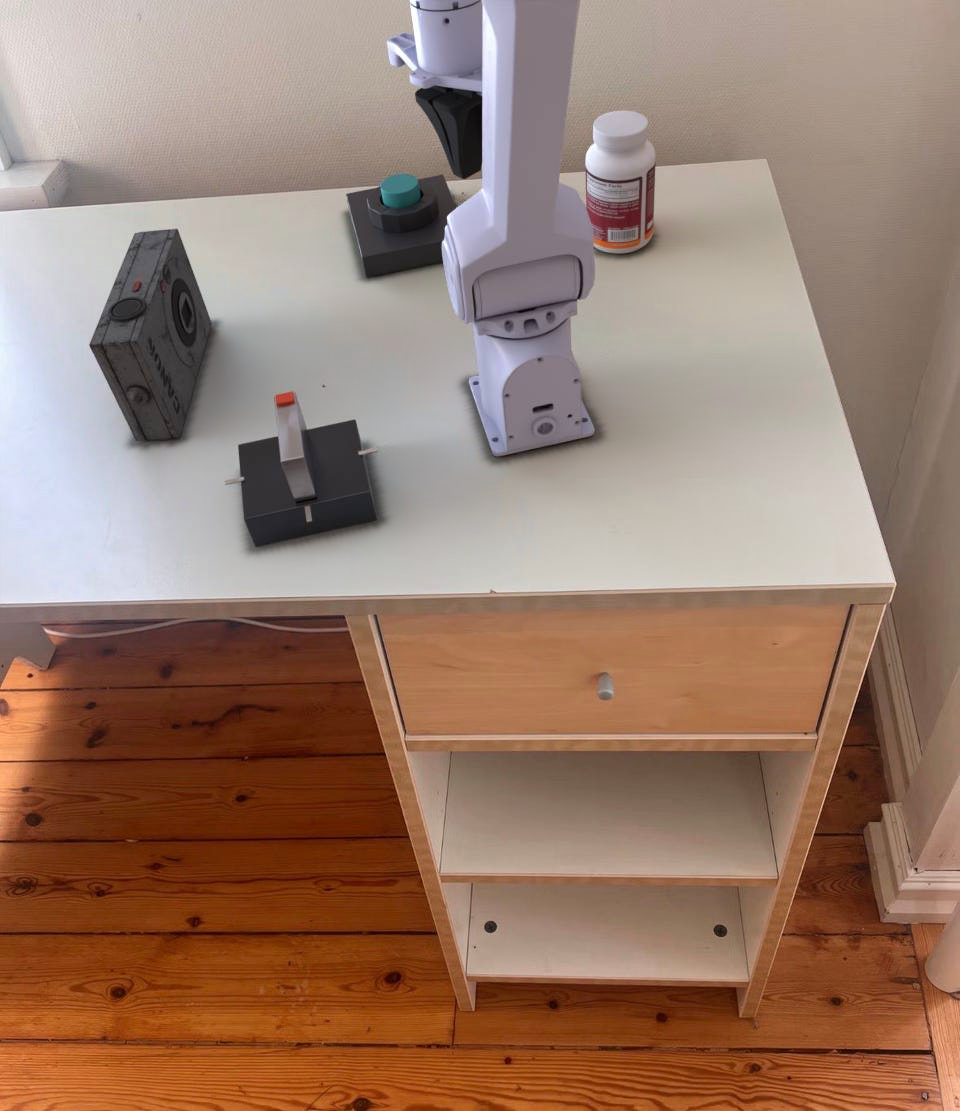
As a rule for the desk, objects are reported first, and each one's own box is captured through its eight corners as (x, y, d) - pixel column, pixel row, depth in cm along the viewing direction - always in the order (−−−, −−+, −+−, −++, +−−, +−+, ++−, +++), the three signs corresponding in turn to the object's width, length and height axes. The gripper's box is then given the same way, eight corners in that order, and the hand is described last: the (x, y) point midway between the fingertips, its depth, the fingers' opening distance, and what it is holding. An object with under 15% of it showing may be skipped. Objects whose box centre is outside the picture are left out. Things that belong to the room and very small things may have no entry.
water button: (423, 206, 91) (421, 188, 90) (386, 213, 91) (383, 196, 90) (417, 187, 94) (414, 170, 92) (380, 194, 93) (377, 177, 92)
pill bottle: (619, 212, 94) (621, 98, 86) (666, 236, 91) (673, 119, 82) (572, 239, 92) (569, 125, 83) (619, 264, 88) (621, 147, 80)
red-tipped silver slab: (317, 497, 68) (303, 453, 65) (294, 502, 68) (279, 458, 65) (308, 432, 73) (294, 388, 69) (287, 437, 73) (272, 393, 69)
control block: (470, 256, 91) (465, 217, 88) (366, 277, 91) (358, 239, 88) (445, 194, 99) (440, 156, 96) (349, 213, 99) (341, 176, 96)
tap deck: (396, 532, 69) (388, 502, 67) (241, 567, 69) (228, 538, 66) (373, 431, 77) (366, 400, 74) (233, 461, 76) (221, 432, 74)
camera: (180, 448, 78) (135, 347, 70) (132, 451, 78) (82, 351, 70) (214, 324, 88) (178, 224, 81) (172, 327, 88) (132, 228, 81)
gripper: (345, -8, 73) (376, 164, 83) (474, 39, 65) (491, 221, 76) (416, -38, 76) (438, 132, 86) (548, 3, 68) (555, 184, 78)
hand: (467, 172), depth 81 cm, fingers closed
